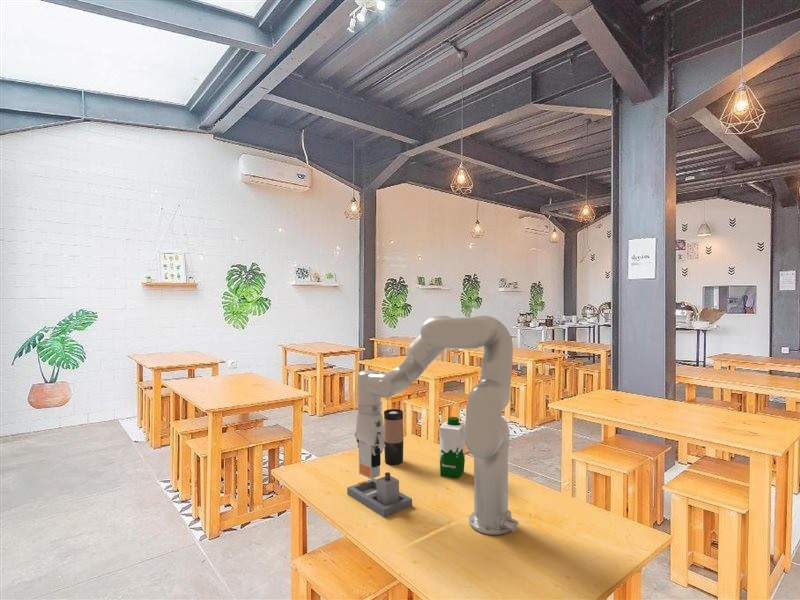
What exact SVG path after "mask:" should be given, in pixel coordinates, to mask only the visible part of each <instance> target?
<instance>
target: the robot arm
mask: <svg viewBox="0 0 800 600" xmlns="http://www.w3.org/2000/svg"><path fill="white" fill-rule="evenodd" d="M478 348H479V349H480V348H483V354H482V360H481V366H480V367H481V369H480V378H479V382H478V383H477V384H476V385H474V387H473V388H472V389H471V390H470V393H469V395H468V397H467V400H466V401H467V405H466V411H465V422H464V424H465V434H464V438H465V448H466V449H467V450H468V452H469V453H470V454H471V455H472V456H473V465H474V466H473V481H474V482H473V483H474V484H473V489H474V491H473V492H474V494H473V497H474V498H473V499H474V500H473V501H474V502H473V503H474V504H473V505H474V506H473V509H474V510H473V512H472V513H471V514H470V515H469V517H468V524H469V525H470V527H471V528H472V529H473V530H475V531H477V532H479V533H481V534H487V535H492V536H497V535H504V534H507V533H509V532H510V531H512V532H514V533H515V532H516V531H517V530H518V526H519V521H518V520H517V519H513V518H512V511H511V510H510V509H509V479H508V478H509V446H510V427H509V424H508V422H507V421H506V419H505V418H504V417H503V416H502V413H503V410H505V408H506V407H507V406H508V404H509V403H510V399H511V384H512V372H513V371H512V369H513V356H514V344H513V338H512V336H511V333H510V331H509V330H508V328H507V327H506V326H505V325H504V323H502V322H501V321H500V320H498V319H497V318H495V317H493V316H490V315H486V314H485V315H483V314H481V315H477V316H472V317H471V316H470V317H451V316H449V315H437V316H432V317H430V318H428V319H426V320H425V321H424V322H423V324H422V325H421V328H420V334H418V336H416V338H415V339H414V340H413V341H412V342H410V344H409V345H408V347H407V351H408V354H407V356H406V357H405V358H404V360H402V362H401V363H399V365H398V366H396V368H394V369H393V370H390V371H387V372H382V373H381V372H379V371H378V370H373V369H367V370H366V369H365V370H361V371H359V372H358V374H357V416H356V427H355V428H356V431H355V433H354V437H355V439H356V442H357V448H358V449H359V438H360V439H362V440H364V441H365V442H366V444H368V445H370V446H372V453H373V455H372V467H373V468H374V467H377V466H380V467H381V455H382V452H384V448H385V443H384V417H383V414H382V411H381V409H382V403H381V402H382V398H384V399H385V398H386V399H387V398H388V399H389V398H391V397H393V396H396V395H397V394H399V393H402V392H404V391H406V390H408V388H409V387H410V386H411V385H412V384H413V383H414V382H415V381H417V379H418V378H419V377H421V375H422V374H423V373H424V372H425V371H426V370H427V369H428V367H429V366H430V364H431V363H433V361H434V360H436V358H437V357H439V355H441V354H442V353H443V351H445V350H446V349H478ZM375 442H377V444H375ZM375 446H377V449H376V450H375Z"/></svg>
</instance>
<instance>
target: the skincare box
mask: <svg viewBox="0 0 800 600" xmlns="http://www.w3.org/2000/svg"><path fill="white" fill-rule="evenodd" d="M375 444H377V442H375ZM376 449H377V446H375V450H376ZM372 455H373V453H372V446H370V445H368V444H366V442H365V441H364V440H362V439H360V438H359V448H358V474H359V475H361V476H362V477H365V478H368V479H369V480H371V479H376V478H377V477H379V476H380V475H381V465H380V466H377V467H374V468H373V467H372Z"/></svg>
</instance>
